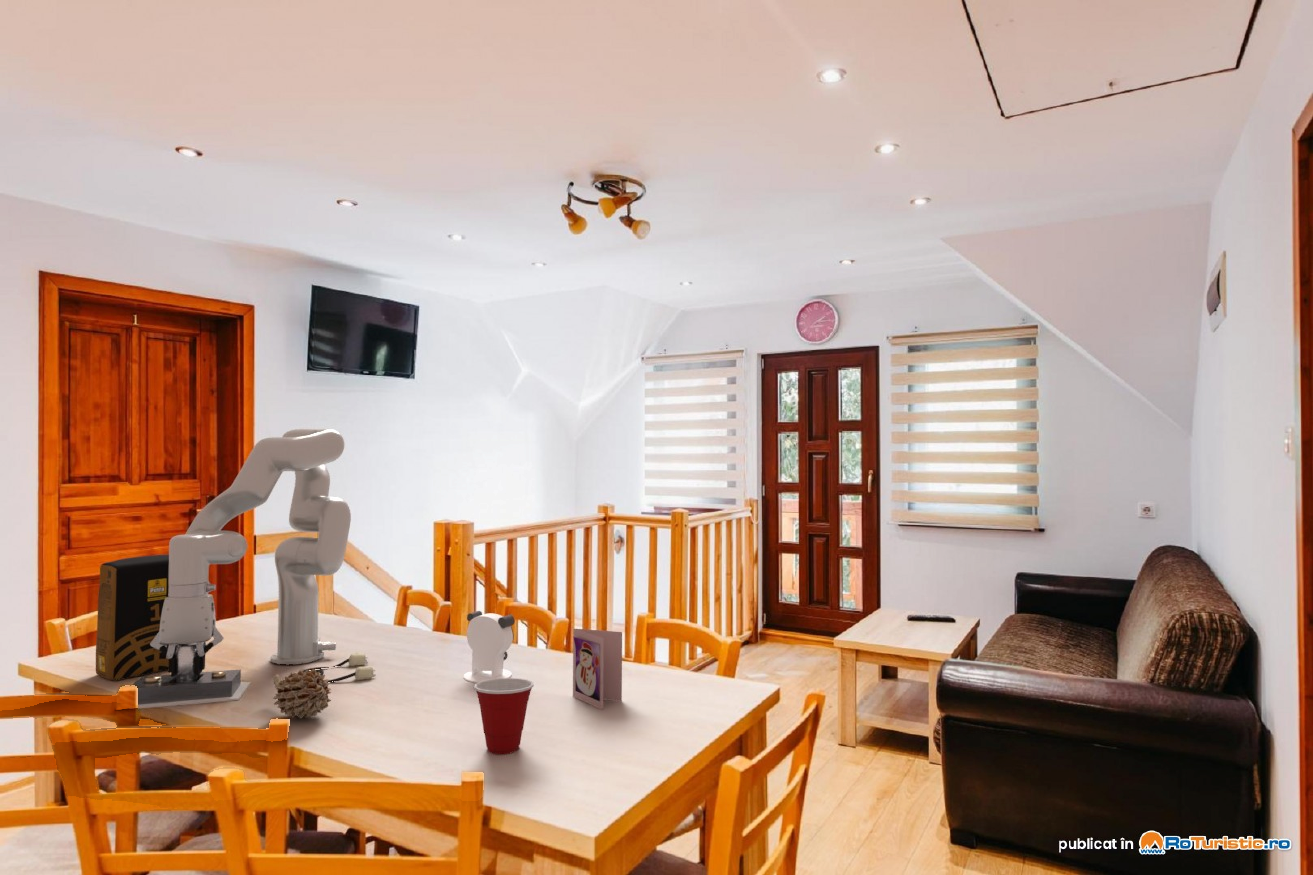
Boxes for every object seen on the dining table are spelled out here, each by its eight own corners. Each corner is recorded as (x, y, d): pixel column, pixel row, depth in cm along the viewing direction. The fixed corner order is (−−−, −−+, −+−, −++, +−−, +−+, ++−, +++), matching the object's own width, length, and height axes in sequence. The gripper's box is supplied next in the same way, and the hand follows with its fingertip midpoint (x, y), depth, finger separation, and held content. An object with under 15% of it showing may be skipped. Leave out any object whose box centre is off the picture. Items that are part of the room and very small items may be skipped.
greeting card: (569, 696, 166) (570, 629, 167) (596, 690, 171) (597, 624, 171) (599, 710, 158) (600, 638, 158) (627, 703, 162) (628, 633, 163)
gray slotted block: (240, 684, 172) (240, 665, 172) (231, 696, 164) (232, 676, 164) (141, 692, 166) (141, 673, 166) (126, 705, 157) (127, 684, 158)
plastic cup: (536, 736, 143) (537, 673, 143) (529, 759, 132) (529, 691, 132) (479, 737, 142) (480, 673, 143) (467, 760, 132) (467, 691, 132)
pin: (199, 678, 167) (200, 642, 168) (194, 683, 164) (195, 646, 164) (178, 679, 166) (179, 643, 166) (173, 685, 162) (174, 648, 163)
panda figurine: (523, 673, 184) (523, 611, 184) (494, 686, 174) (495, 621, 174) (483, 667, 189) (484, 607, 189) (453, 679, 179) (454, 616, 179)
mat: (250, 683, 174) (250, 682, 174) (238, 699, 163) (239, 698, 163) (134, 693, 167) (134, 691, 167) (114, 710, 155) (114, 708, 155)
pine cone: (344, 719, 151) (345, 669, 152) (297, 733, 144) (298, 681, 144) (290, 697, 165) (291, 651, 165) (244, 708, 157) (245, 661, 157)
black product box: (198, 664, 190) (200, 553, 191) (110, 683, 174) (113, 562, 174) (177, 657, 196) (180, 550, 196) (90, 675, 180) (93, 558, 180)
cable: (306, 690, 171) (306, 675, 171) (300, 672, 185) (300, 658, 185) (377, 680, 179) (378, 666, 179) (366, 664, 193) (367, 650, 193)
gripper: (234, 585, 172) (233, 666, 171) (150, 589, 166) (148, 672, 166) (227, 591, 164) (225, 675, 164) (138, 595, 159) (136, 682, 159)
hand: (186, 673), depth 165 cm, fingers closed on pin, 4 cm apart
